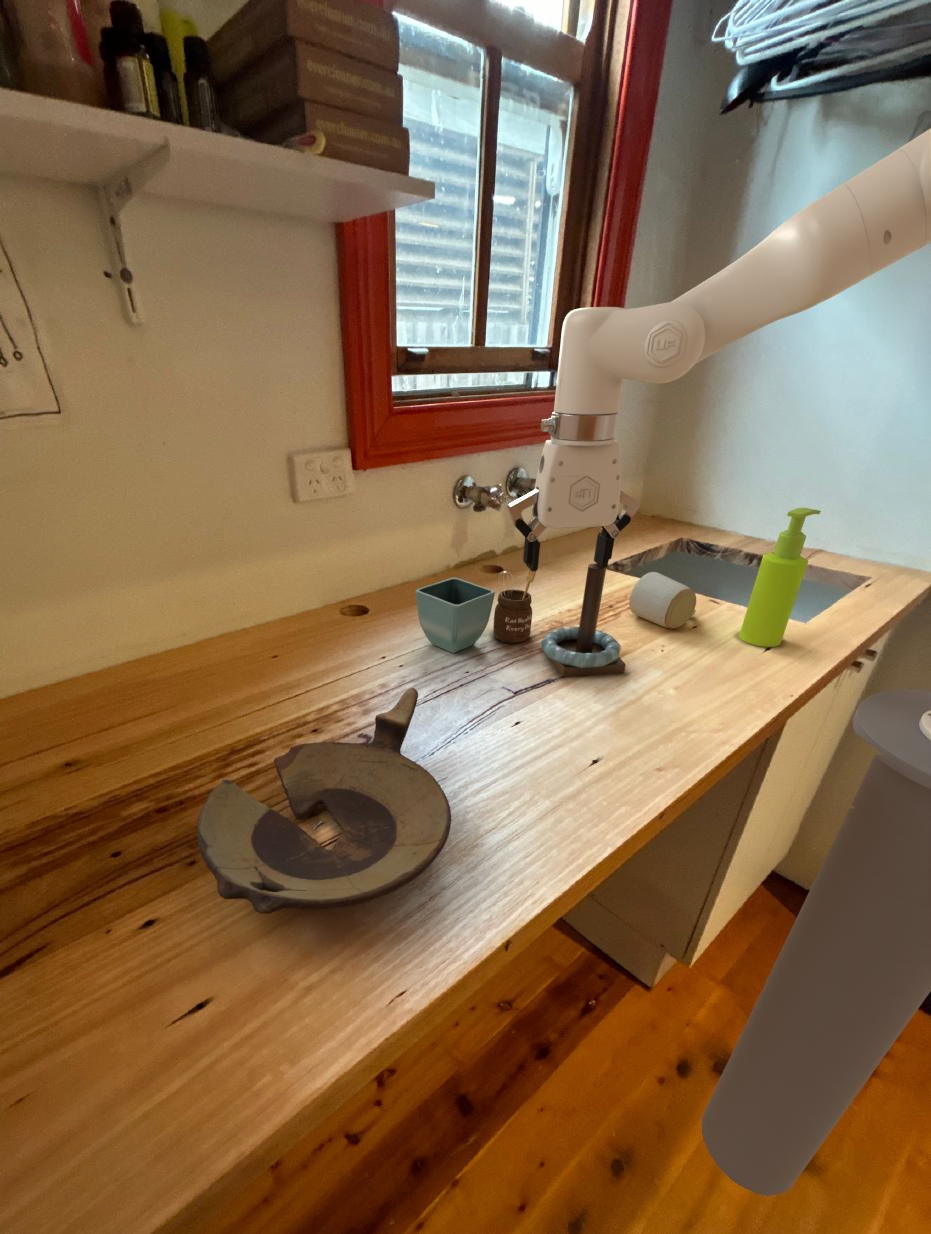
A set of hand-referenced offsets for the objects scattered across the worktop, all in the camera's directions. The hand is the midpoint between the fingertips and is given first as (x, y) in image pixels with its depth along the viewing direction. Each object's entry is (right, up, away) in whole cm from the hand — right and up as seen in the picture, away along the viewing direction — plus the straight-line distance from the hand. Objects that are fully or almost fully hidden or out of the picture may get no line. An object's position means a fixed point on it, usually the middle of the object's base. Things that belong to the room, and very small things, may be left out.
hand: (566, 566), depth 82 cm
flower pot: (-14, -10, +13) cm, 22 cm away
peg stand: (+5, -12, +8) cm, 15 cm away
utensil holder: (-5, -8, +16) cm, 18 cm away
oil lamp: (-27, -31, -23) cm, 47 cm away
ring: (+4, -10, +7) cm, 13 cm away
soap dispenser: (+35, -8, +14) cm, 39 cm away
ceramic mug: (+22, -5, +21) cm, 31 cm away
